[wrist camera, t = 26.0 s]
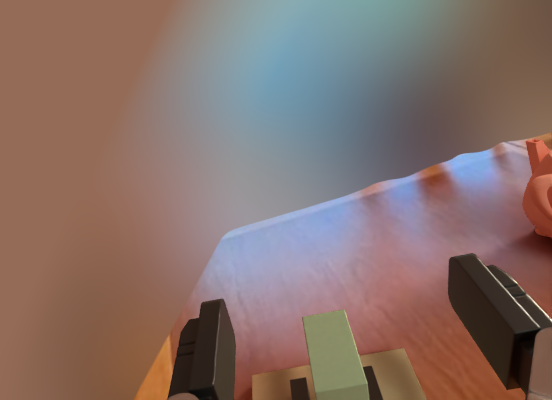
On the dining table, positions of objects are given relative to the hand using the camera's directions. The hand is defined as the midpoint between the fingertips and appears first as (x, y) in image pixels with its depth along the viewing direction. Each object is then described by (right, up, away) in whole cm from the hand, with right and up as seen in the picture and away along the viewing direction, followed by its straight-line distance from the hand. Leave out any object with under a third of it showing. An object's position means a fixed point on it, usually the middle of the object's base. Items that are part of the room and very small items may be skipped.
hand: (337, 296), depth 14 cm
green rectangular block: (+4, -17, +20) cm, 26 cm away
